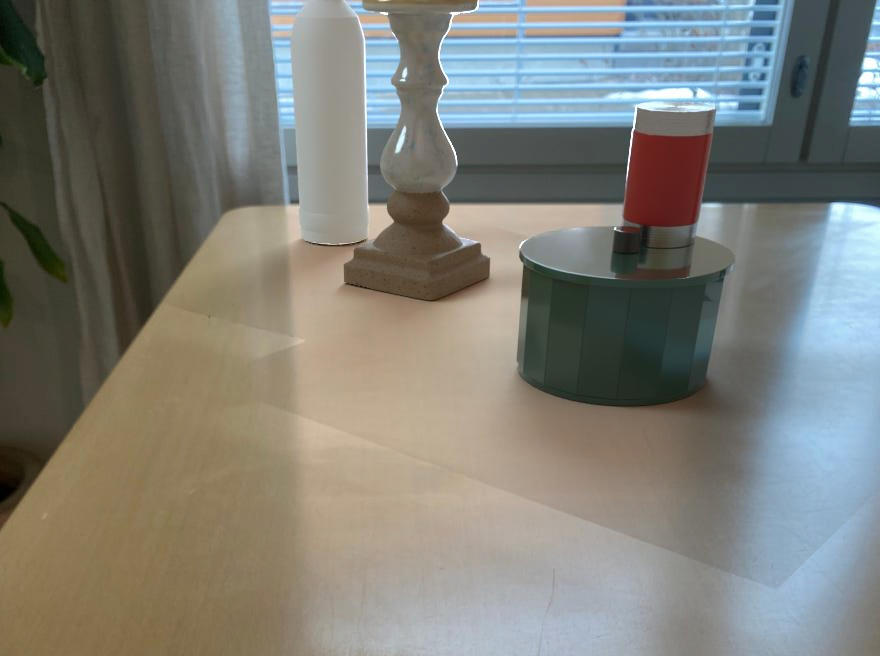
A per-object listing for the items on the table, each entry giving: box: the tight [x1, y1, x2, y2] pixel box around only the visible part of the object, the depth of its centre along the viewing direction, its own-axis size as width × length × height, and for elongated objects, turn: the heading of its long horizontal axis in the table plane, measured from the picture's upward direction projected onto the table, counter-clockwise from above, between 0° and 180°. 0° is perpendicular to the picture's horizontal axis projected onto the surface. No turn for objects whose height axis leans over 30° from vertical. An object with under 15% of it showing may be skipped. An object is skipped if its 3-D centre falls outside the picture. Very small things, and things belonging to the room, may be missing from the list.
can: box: [620, 100, 717, 248], centre depth 72 cm, size 6×6×9 cm
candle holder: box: [343, 0, 491, 301], centre depth 91 cm, size 11×11×24 cm
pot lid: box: [518, 225, 736, 289], centre depth 72 cm, size 16×16×3 cm
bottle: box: [289, 0, 370, 244], centre depth 104 cm, size 8×8×30 cm
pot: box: [516, 263, 726, 407], centre depth 75 cm, size 15×15×8 cm
